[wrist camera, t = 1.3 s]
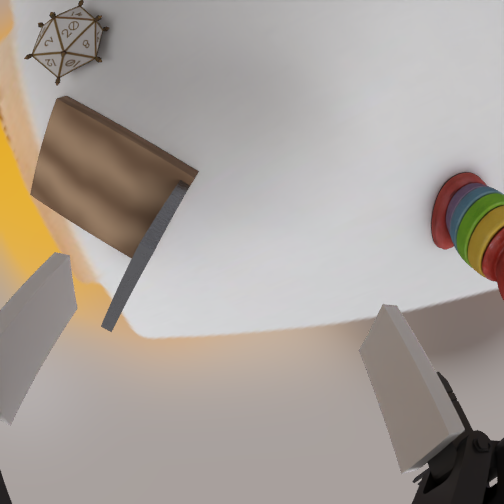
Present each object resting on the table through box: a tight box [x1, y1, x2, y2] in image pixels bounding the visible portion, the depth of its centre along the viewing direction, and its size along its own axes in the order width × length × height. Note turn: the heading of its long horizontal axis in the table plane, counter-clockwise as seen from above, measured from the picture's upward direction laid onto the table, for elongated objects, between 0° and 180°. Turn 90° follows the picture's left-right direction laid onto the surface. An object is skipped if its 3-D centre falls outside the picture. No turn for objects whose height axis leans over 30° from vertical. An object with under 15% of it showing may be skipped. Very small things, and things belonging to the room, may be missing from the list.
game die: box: [24, 0, 109, 85], centre depth 19 cm, size 9×8×10 cm
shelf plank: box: [30, 96, 198, 258], centre depth 32 cm, size 14×19×2 cm
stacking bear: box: [432, 173, 504, 300], centre depth 25 cm, size 11×10×18 cm
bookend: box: [101, 180, 190, 332], centre depth 28 cm, size 12×1×12 cm, turn 145°
